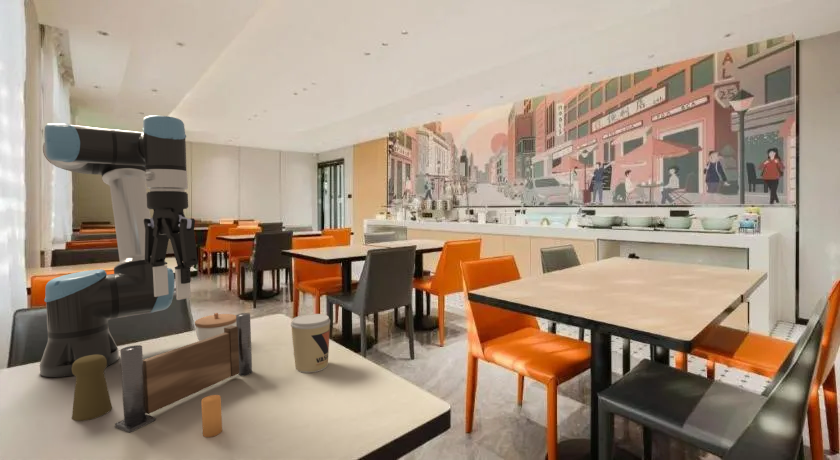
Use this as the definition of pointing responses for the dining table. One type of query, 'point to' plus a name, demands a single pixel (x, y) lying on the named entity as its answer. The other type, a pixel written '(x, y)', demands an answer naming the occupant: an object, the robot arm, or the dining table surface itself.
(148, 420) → the gate frame
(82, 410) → the cork
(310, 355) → the coffee cup
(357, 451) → the dining table surface
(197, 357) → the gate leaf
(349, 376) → the dining table surface
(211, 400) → the post
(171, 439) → the dining table surface
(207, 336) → the lidded jar
